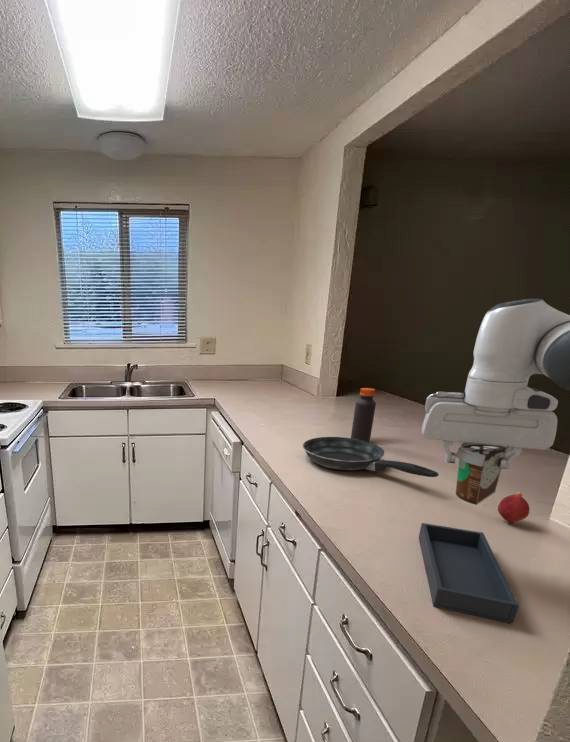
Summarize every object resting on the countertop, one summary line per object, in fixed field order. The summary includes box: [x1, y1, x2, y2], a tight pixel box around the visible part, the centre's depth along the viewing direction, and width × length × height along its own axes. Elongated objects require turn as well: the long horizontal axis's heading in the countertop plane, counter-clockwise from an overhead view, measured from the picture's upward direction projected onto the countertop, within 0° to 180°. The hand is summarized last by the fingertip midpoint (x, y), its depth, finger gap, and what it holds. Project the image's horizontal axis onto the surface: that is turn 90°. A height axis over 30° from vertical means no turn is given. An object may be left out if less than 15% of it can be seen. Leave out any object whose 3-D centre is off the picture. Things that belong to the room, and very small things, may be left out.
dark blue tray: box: [418, 522, 520, 625], centre depth 85 cm, size 12×26×4 cm, turn 156°
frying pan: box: [302, 436, 439, 478], centre depth 136 cm, size 44×25×7 cm, turn 27°
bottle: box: [350, 387, 377, 443], centre depth 161 cm, size 7×7×20 cm
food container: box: [455, 442, 509, 506], centre depth 84 cm, size 12×6×10 cm, turn 127°
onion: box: [497, 491, 530, 524], centre depth 103 cm, size 6×6×8 cm
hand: (475, 465), depth 84 cm, fingers closed on food container, 7 cm apart
